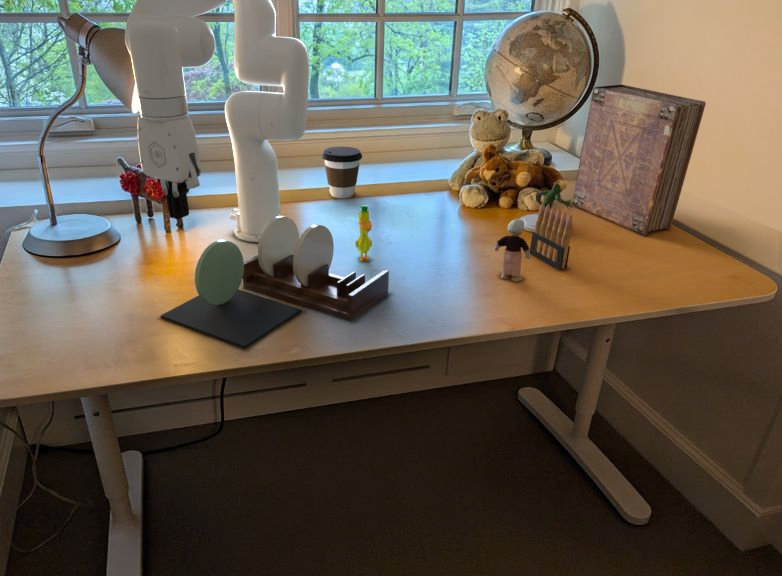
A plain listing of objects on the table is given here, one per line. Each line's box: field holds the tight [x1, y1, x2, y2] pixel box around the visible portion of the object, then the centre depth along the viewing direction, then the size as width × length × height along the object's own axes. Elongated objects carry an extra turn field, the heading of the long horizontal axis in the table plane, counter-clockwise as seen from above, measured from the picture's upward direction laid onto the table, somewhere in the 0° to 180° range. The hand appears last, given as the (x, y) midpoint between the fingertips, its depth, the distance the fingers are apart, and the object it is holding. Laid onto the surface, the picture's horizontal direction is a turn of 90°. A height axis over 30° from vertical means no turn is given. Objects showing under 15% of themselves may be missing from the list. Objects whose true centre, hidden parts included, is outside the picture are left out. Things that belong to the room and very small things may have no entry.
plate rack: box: [242, 254, 390, 323], centre depth 126 cm, size 26×13×5 cm, turn 58°
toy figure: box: [354, 204, 373, 263], centre depth 137 cm, size 7×4×12 cm, turn 13°
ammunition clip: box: [529, 201, 573, 271], centre depth 138 cm, size 11×2×12 cm, turn 26°
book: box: [571, 84, 707, 237], centre depth 158 cm, size 25×9×30 cm, turn 28°
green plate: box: [194, 239, 245, 305], centre depth 118 cm, size 1×12×12 cm, turn 148°
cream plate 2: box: [293, 224, 335, 287], centre depth 123 cm, size 1×12×12 cm, turn 149°
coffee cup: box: [321, 146, 363, 199], centre depth 175 cm, size 11×11×12 cm
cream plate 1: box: [257, 215, 300, 277], centre depth 127 cm, size 1×12×12 cm, turn 149°
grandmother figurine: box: [493, 218, 532, 283], centre depth 130 cm, size 8×4×13 cm, turn 71°
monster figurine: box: [519, 182, 573, 233], centre depth 157 cm, size 12×12×10 cm
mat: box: [160, 288, 303, 350], centre depth 118 cm, size 20×16×1 cm
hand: (179, 216), depth 113 cm, fingers closed
